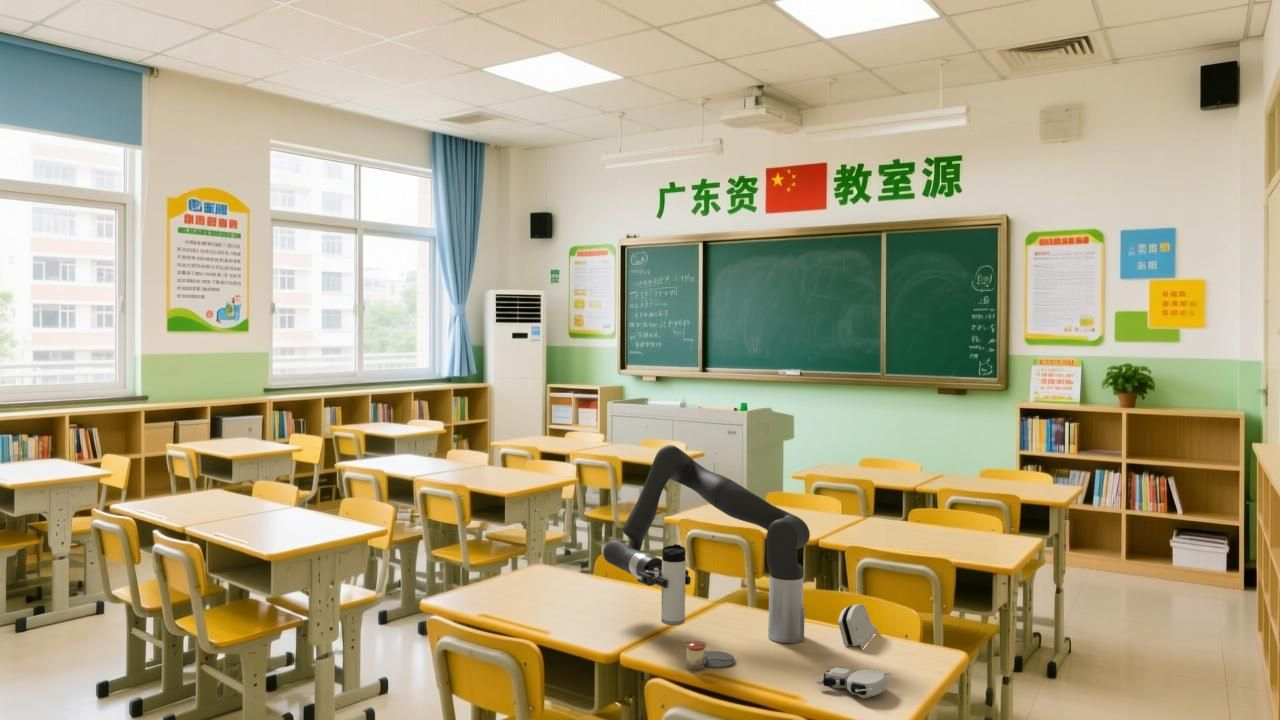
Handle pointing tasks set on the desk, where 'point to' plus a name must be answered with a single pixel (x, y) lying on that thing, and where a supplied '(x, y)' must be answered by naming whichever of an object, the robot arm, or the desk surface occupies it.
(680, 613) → the travel mug
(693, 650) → the grey base with jar
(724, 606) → the desk surface
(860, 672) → the robot toy
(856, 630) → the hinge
